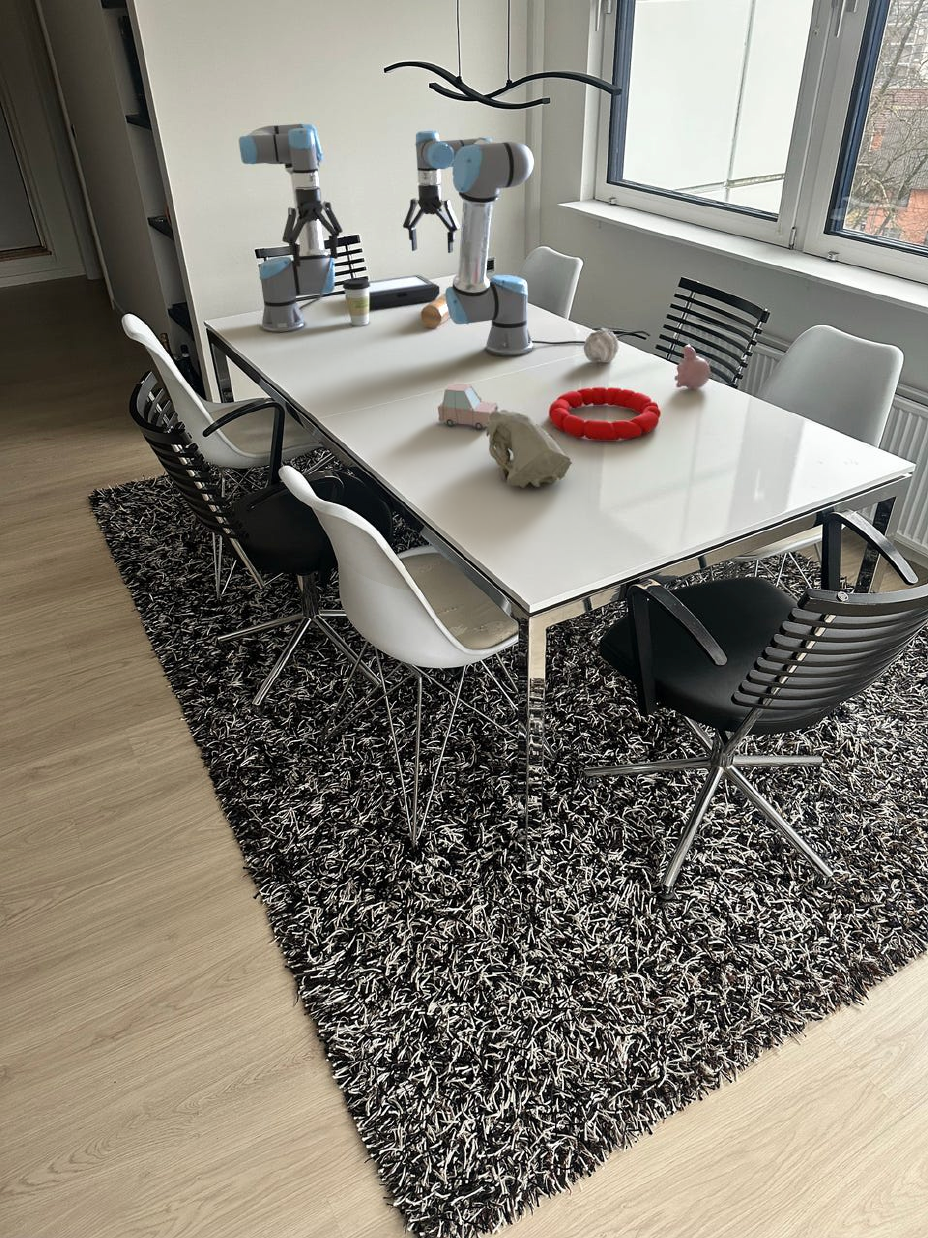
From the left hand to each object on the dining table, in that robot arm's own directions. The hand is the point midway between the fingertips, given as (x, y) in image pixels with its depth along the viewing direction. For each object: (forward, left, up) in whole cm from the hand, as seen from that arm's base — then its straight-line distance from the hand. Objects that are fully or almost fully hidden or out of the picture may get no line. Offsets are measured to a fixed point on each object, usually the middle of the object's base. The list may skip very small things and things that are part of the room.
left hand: (316, 261), depth 278 cm
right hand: (-27, +41, -5) cm, 49 cm away
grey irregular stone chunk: (+100, +43, -30) cm, 113 cm away
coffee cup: (-36, +14, -30) cm, 49 cm away
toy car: (+67, +35, -30) cm, 82 cm away
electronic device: (-64, +29, -30) cm, 76 cm away
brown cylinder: (-36, +46, -30) cm, 66 cm away
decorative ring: (+75, +72, -30) cm, 108 cm away
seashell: (+27, +86, -30) cm, 95 cm away
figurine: (+57, +104, -30) cm, 122 cm away
